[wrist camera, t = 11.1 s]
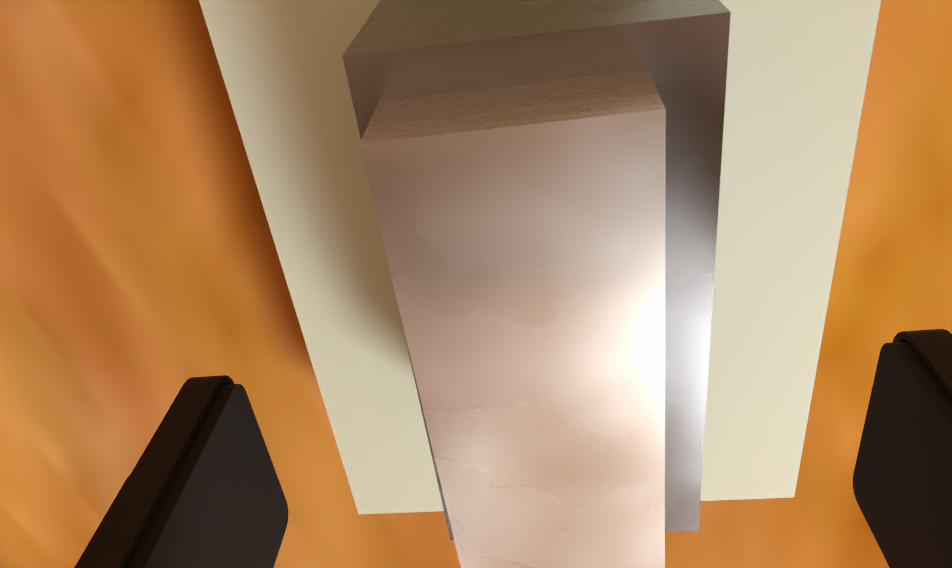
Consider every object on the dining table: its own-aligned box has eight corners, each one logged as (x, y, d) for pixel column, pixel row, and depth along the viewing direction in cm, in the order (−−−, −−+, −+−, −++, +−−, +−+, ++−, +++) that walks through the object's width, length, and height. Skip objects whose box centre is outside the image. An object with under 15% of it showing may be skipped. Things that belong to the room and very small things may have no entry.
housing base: (674, -46, 12) (730, 12, 9) (665, 394, 18) (698, 530, 15) (387, -10, 13) (342, 55, 10) (462, 406, 18) (450, 539, 15)
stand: (754, 396, 23) (794, 497, 20) (380, 416, 24) (358, 514, 21) (842, -350, 13) (949, -399, 10) (208, -251, 15) (116, -265, 11)
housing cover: (646, 68, 10) (665, 108, 8) (651, 505, 14) (664, 573, 13) (379, 101, 10) (359, 143, 9) (469, 515, 15) (464, 581, 13)
